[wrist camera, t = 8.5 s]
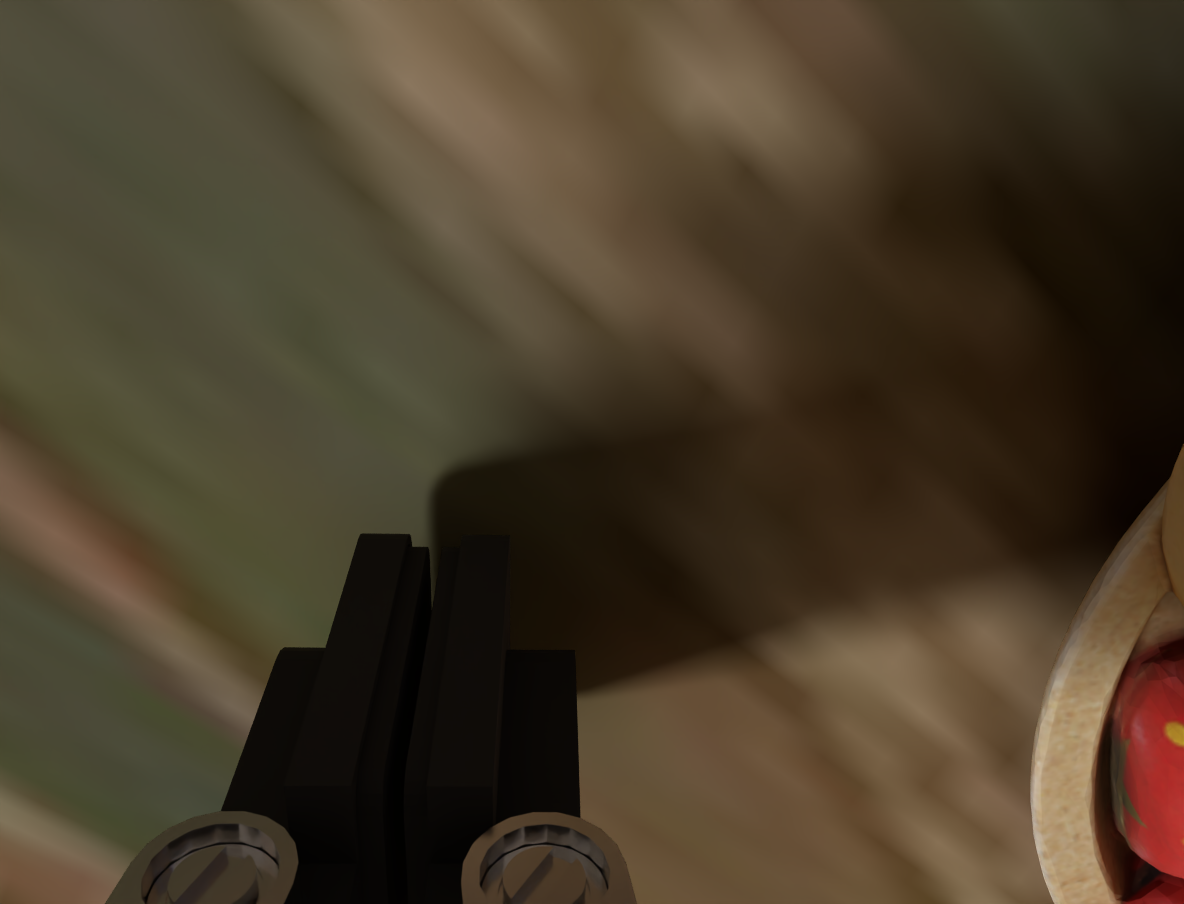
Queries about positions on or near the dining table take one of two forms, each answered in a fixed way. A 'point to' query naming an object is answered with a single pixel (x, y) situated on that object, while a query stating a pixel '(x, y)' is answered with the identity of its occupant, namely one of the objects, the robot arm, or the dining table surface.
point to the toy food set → (1118, 725)
